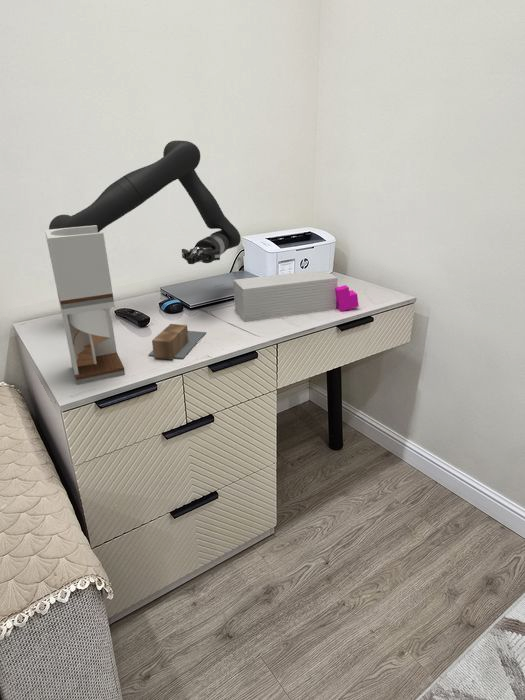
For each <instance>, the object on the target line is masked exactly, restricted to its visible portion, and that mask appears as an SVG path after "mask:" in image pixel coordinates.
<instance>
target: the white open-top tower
mask: <svg viewBox="0 0 525 700" xmlns="http://www.w3.org/2000/svg"><path fill="white" fill-rule="evenodd" d="M44 234H45V238H46V243H47V247H48V252H49V258H50V264H51V268H52V272H53V276H54V281H55V287H56V292H57V298H58V301H59V302H58V303H59V306H60V313H61V316H62V321H63V326H64V327H63V328H64V332H65V337H66V341H67V346H68V351H69V356H70V362H71V366H72V371H73V375H74V378H75V382H76V385H82V384H86V383H91V382H96V381H101V380H105V379H111V378H116V377H119V376H120V377H121V376H124V375H126V372H125V367H124V365H123V362H122V360H121V358H120V356H119V353H118V350H117V345H116V339H115V338H116V337H115V332H114V326H113V320H112V319H113V318H112V314H111V313H112V312H111V309H113V308H115V301H114V293H113V286H112V280H111V279H112V278H111V273H110V267H109V260H108V254H107V248H106V247H107V246H106V240H105V234H104V232H101V231H100V232H99V233H98V229H97V225H94V226H83V227H72V228H61V229H50V230H49V229H45V230H44Z"/></svg>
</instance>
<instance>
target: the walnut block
mask: <svg viewBox="0 0 525 700" xmlns="http://www.w3.org/2000/svg"><path fill="white" fill-rule="evenodd" d="M188 331H189V330H188V324H178V323H177V324H175V323H170V324H169V325H168V326H166V327H165V328H164V329H163V330H162V331H161V332H160V333H158V334H157V335H156V336H155V337H154V338H153V339H152V340H151V343H152V351H153V353H154V357H153V358H154V359H163V360H174V359H175V358H174V356H175V355H176V354H177V353H178V352H179V351H180V350H181V349H182V348H183V347H184V346H185V345H186V344H187V343H188V342H189V340H188Z"/></svg>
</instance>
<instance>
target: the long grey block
mask: <svg viewBox="0 0 525 700" xmlns="http://www.w3.org/2000/svg"><path fill="white" fill-rule="evenodd" d="M338 282H339V281H338V277H337V276H335V275H334V274H332V273H330V272H328V271H326V270H324V269H318V270H309V271H301V272H299V271H298V272H292V273H283V274H282V273H281V274H273V275H265V276H256V277H247V278H239V279H233V297H234V298H233V300H234V312H235V314H237V316H239V318H240V319H241V320H242V321H243V322H244V323H246V322H252V321H253V322H254V321H260V320H267V319H274V318H280V317H288V316H295V315H296V316H297V315H303V314H309V313H310V314H311V313H318V312H324V311H325V312H326V311H332V310H336V309H337V307H336V302H337V301H336V293H335V288H337V286H338Z"/></svg>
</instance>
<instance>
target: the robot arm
mask: <svg viewBox="0 0 525 700" xmlns="http://www.w3.org/2000/svg"><path fill="white" fill-rule="evenodd" d="M162 155H163V156H162V157H161V158H160V159H158V160H157V161H155V162H153V163H151V164H149V165H145V166H143V167H140V168H137V169H135V170H133V171H130V172H128V173H126V174H125V175H123V176H121V177H120V178H118V179H116V180H115V181H114V182H113V183H111V184H109V186H107V187H106V188H105V189H104V190H103V191H102V193H101V194H100V195H99V196H98V197H97V198H96V199H95V200H94V201H93V202H92V203H91V204H90V205H89V206H87V207H86V208H84V209H82V210H81V211H79V212H77V213H75V214H72V215H70V214H69V215H68V214H59V215H57V216H55V217H54V218H53V219H52V220H51V221H50V222H49V225H48V226H49V227H48V230H50V229H61V228H72V227H83V226H94V225H97V229H98V233H101V231H102V230H104V229H105V228H106V227H108V226H110V225H111V224H113V223H114V222H115V221H117V220H119V219H120V218H122V217H123V216H125V215H127V214H128V213H130V212H132V211H133V210H135V209H136V208H138V207H139V206H141V205H143V204H144V203H145V202H146V201H148V200H149V199H150V198H152V197H153V196H155V195H156V194H157V193H159V192H160V191H161V190H163V189H164V188H165V187H167V186H168V185H169V184H171V183H172V182H174V181H177V180H178V181H179V182H180V184H181V185H182V186H183V188H184V191H186V193H187V194H188V196H189V197H190V199H191V200H192V202H193V204H194V205H195V207H196V209H197V211H198V213H199V215H200V217H201V219H202V221H203V222H204V223H205V225H206V227H207V228H208V229H211V230H214V229H215V230H216V229H218V231H214V232H213V233H211V234H210V235H207V236H205V237H204V238H202V239H200V240H198V241H197V242H196V243H195V245H194V247H193V248H191V249H189V250H188V249H186V248H181V258H182V259H184V260H185V261H186V262H187V264H188V265H194V264H196V263H197V264H198V263H200V262H201V263H203V264H211V263H212V262H214V261H220V260H221V256H222V255H223V254H224V253H225V252H226V251H227V250H229V249H232V248H236V247H238V246H239V245H240V243H241V241H242V239H241V237H242V236H241V234H240V232H239V230H238V228H236V226H234V225H233V223H231V221H230V220H229V219H228V218H227V216H225V214H224V213H223V212H224V211H222V209H221V207H220V204H219V202H217V201H218V200H217V199H216V198H215V197H214V195H213V194H212V192H210V190H209V189H208V187H207V186H206V185H205V184H204V183H203V181H202V180H201V178H200V177H199V176H198V174H197V171H196V169H197V168H198V165H199V164H200V161H201V151H200V149H199V147H198V146H197V145H196V144H195V143H193V142H192V141H188V140H171V141H169V142H167V144H166V145H165V146H164V148H163V154H162Z"/></svg>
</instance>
